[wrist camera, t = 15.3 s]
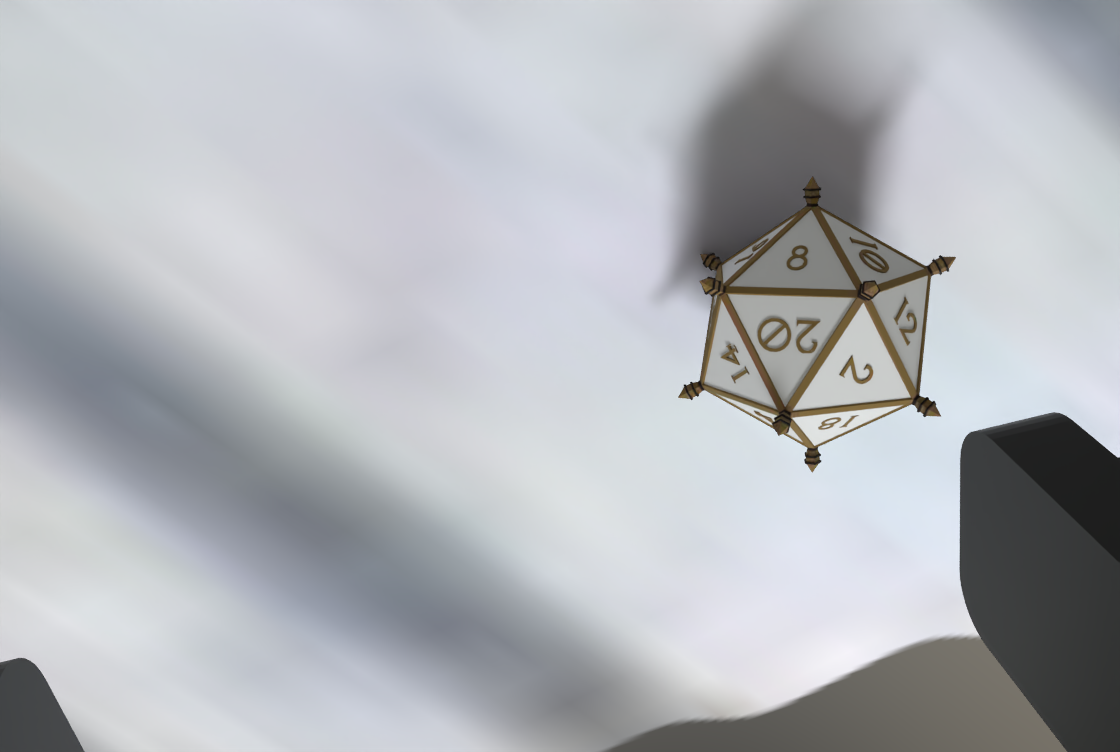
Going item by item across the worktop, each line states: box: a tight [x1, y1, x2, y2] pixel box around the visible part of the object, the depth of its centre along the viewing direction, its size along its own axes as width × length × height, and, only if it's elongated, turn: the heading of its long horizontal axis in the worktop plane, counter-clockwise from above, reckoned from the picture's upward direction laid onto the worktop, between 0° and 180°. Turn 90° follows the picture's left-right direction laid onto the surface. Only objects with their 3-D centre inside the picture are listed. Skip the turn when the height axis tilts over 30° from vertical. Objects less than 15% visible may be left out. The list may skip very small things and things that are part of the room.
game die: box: [678, 176, 956, 472], centre depth 35 cm, size 9×8×10 cm
